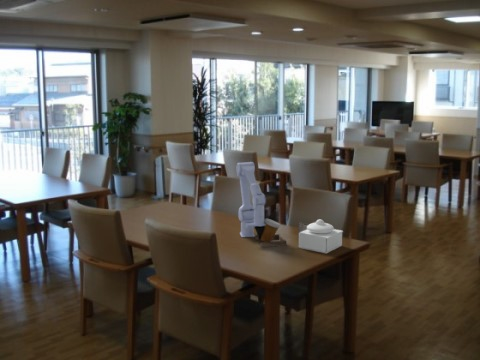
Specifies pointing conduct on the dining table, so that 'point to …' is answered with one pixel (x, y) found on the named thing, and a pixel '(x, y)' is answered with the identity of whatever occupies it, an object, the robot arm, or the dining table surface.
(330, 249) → the butter dish
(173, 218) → the dining table surface
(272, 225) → the disposable coffee cup
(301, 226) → the architectural model on board
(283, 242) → the cup holder
